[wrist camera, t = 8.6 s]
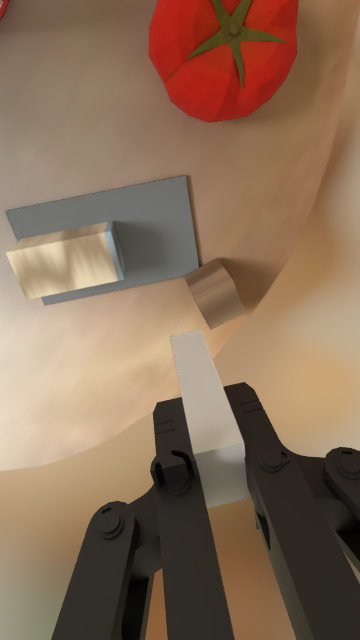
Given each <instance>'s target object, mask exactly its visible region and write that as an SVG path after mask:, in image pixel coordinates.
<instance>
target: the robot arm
mask: <svg viewBox="0 0 360 640" xmlns="http://www.w3.org/2000/svg"><path fill="white" fill-rule="evenodd" d="M170 341H171V346H172V351H173V356H174V361H175V366H176V371H177V376H178V381H179V386H180V391H181V396H182V397H180V398H176V399H171V400H166V401H162V402H157V405H156V407H155V409H154V412H153V420H154V432H155V445H156V456H155V458H154V460H153V461H152V463H151V469H150V472H151V475H152V478H153V481H154V484H153V486H152V487H151V489H150V490H149V491H148V492H147V493H146V494H144V495H143V496H141V497H140V498H138V499H137V500H135V501H133V502H131V503H130V504H127V503H125V502H120V501H115V502H109V503H107V504H106V505H104V506H102V507H101V508H100V509H99V510H98V511H97V512H96V513H95V514H94V515H93V517H92V519H91V521H90V523H89V525H88V528H87V531H86V534H85V538H84V540H83V543H82V546H81V550H80V553H79V556H78V559H77V562H76V565H75V568H74V571H73V574H72V577H71V580H70V583H69V586H68V590H67V593H66V596H65V599H64V602H63V605H62V608H61V611H60V614H59V617H58V620H57V624H56V627H55V629H54V633H53V636H52V639H51V640H145V636H146V629H147V622H148V615H149V607H150V600H151V594H152V587H153V580H154V573H155V572H157V571H158V570H160V569H161V568H162V570H163V583H164V596H165V609H166V622H167V635H168V640H235V637H234V633H233V628H232V623H231V619H230V615H229V609H228V605H227V600H226V595H225V591H224V586H223V581H222V576H221V572H220V567H219V563H218V558H217V553H216V548H215V544H214V539H213V534H212V530H211V525H210V520H209V516H208V511H207V508H210V507H215V506H219V505H223V504H227V503H231V502H235V501H240V500H244V499H248V498H250V495H251V498H252V501H253V504H254V509H255V518H256V527H257V529H260V531H261V534H262V537H263V540H264V543H265V546H266V549H267V552H268V555H269V558H270V561H271V564H272V567H273V570H274V573H275V576H276V579H277V582H278V585H279V588H280V591H281V594H282V597H283V600H284V603H285V606H286V609H287V612H288V615H289V618H290V621H291V624H292V628H293V630H294V634H295V636H296V640H360V584H359V582H358V580H357V578H356V576H355V574H354V572H353V570H352V568H351V566H350V564H349V563H348V560H347V558H346V557H345V555H344V553H345V554H346V556H347V557H348V558H349V559H350V561H351V562H352V563H353V565H354V566H355V567H356V568H357V570H358V571H359V572H360V451H357V450H355V449H352V448H346V447H339V448H335V449H332V450H331V451H330V452H329V453H327V455H326V457H325V458H320V457H307V456H301V455H298V454H295V453H293V452H291V451H290V450H288V449H287V448H286V447H285V446H283V444H282V443H281V441H280V440H279V438H278V436H277V434H276V432H275V430H274V428H273V426H272V424H271V422H270V420H269V418H268V416H267V414H266V413H265V410H264V409H263V407H262V404H261V402H260V401H259V399H258V396H257V395H256V392H255V390H254V389H253V388H251V387H250V386H249V385H248V384H246V383H245V382H243V383H238V384H233V385H229V386H225V387H223V386H222V383H221V381H220V378H219V376H218V373H217V370H216V368H215V365H214V363H213V360H212V357H211V354H210V352H209V349H208V347H207V344H206V341H205V339H204V336H203V333H202V331H201V329H200V330H196V331H191V332H186V333H182V334H177V335H173V336H170ZM249 492H250V493H249ZM342 550H343V551H342ZM343 552H344V553H343Z"/></svg>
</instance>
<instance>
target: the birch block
mask: <svg viewBox="0 0 360 640" xmlns="http://www.w3.org/2000/svg"><path fill="white" fill-rule="evenodd" d="M6 254H7V257H8V259H9V261H10V263H11V266H12V268H13V270H14V272H15V275H16V277H17V279H18V281H19V284H20V286H21V288H22V290H23V292H24V295H25V297H26V299H27V300H28V299H33V298H38V297H43V296H48V295H52V294H57V293H62V292H67V291H72V290H76V289H81V288H86V287H91V286H96V285H101V284H105V283H110V282H115V281H120V280H124V268H125V263H124V259H123V256H122V252H121V248H120V244H119V241H118V237H117V233H116V229H115V225H114V222H113V221H109V222H104V223H99V224H94V225H89V226H84V227H79V228H74V229H69V230H64V231H59V232H54V233H49V234H44V235H39V236H34V237H29V238H24V239H21V240H20V241H19V242H17V243H16V244H15V245H14V246H13V247H12V248H10V249H9V250H8V251H7V252H6Z"/></svg>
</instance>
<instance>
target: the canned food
mask: <svg viewBox="0 0 360 640" xmlns="http://www.w3.org/2000/svg"><path fill="white" fill-rule="evenodd" d="M8 3H9V0H0V19H1V18H2V16H3V15H4V13H5V11H6V8H7V6H8Z"/></svg>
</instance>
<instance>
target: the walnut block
mask: <svg viewBox="0 0 360 640" xmlns="http://www.w3.org/2000/svg"><path fill="white" fill-rule="evenodd" d="M184 277H185V279H186V281H187V284H188V286H189V288H190V291H191V293H192V295H193V297H194V300H195V302H196V304H197V306H198V307H199V309H200V311H201V313H202V315H203V317H204V318H205V320H206V322H207V324H208V326H209V328H210V330H211V329H213V328H215V327H217V326H219V325H221V324H223V323H225V322H227V321H229V320H231V319H233V318H235V317H237V316H239V315H241V314H243V313H245V312H247V311H246V309H245V307H244V304H243V302H242V300H241V297H240V295H239V293H238V290H237V288H236V286H235V283H234V281H233V280H232V278H231V277H230V275H229V274H228V272H227V271H226V269H225V268H224V267H223V265H222V264H221V262H220V261H219V259H218V258H217V259H215V260H213V261H211V262H209V263H207V264H205V265H203V266H201V267H199V268H197V269H195V270H194V271H192V272H190V273H188V274H186V275H184Z"/></svg>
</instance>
